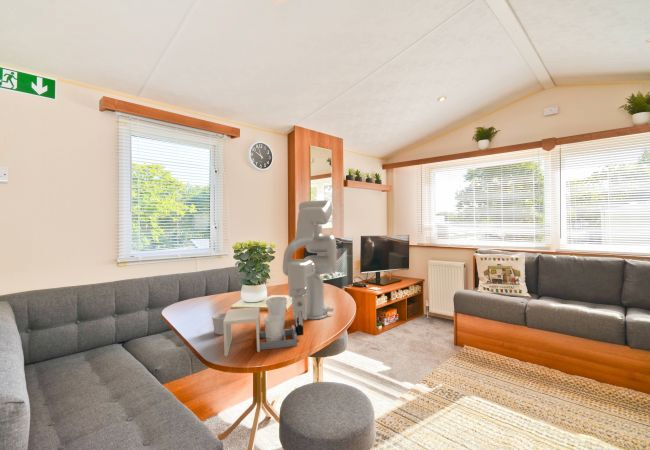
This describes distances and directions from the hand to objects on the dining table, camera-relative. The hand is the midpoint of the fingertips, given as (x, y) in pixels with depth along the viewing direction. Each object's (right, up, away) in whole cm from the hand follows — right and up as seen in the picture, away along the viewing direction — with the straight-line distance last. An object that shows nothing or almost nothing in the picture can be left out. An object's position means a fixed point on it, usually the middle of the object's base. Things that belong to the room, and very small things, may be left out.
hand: (299, 334), depth 128 cm
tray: (-9, -2, -2) cm, 10 cm away
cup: (-36, -3, +12) cm, 38 cm away
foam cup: (-12, -2, +17) cm, 21 cm away
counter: (-22, -3, -4) cm, 22 cm away
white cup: (-10, -3, -2) cm, 11 cm away
